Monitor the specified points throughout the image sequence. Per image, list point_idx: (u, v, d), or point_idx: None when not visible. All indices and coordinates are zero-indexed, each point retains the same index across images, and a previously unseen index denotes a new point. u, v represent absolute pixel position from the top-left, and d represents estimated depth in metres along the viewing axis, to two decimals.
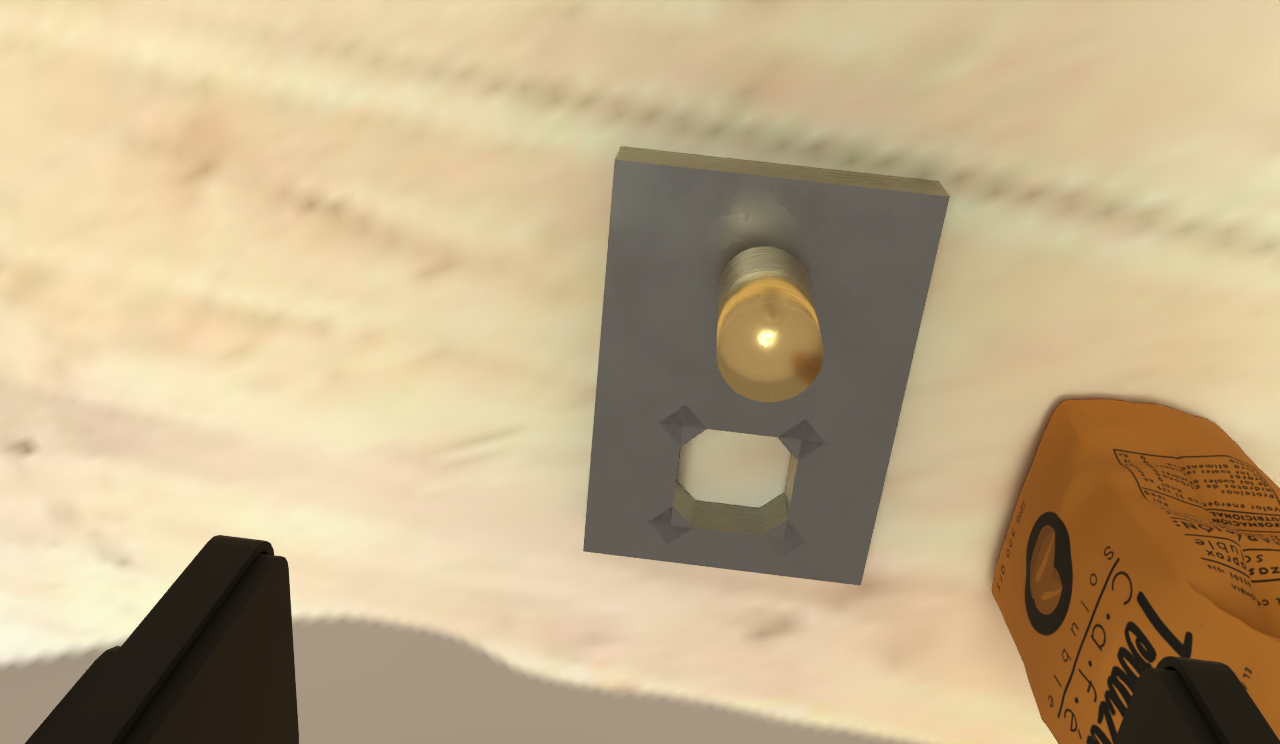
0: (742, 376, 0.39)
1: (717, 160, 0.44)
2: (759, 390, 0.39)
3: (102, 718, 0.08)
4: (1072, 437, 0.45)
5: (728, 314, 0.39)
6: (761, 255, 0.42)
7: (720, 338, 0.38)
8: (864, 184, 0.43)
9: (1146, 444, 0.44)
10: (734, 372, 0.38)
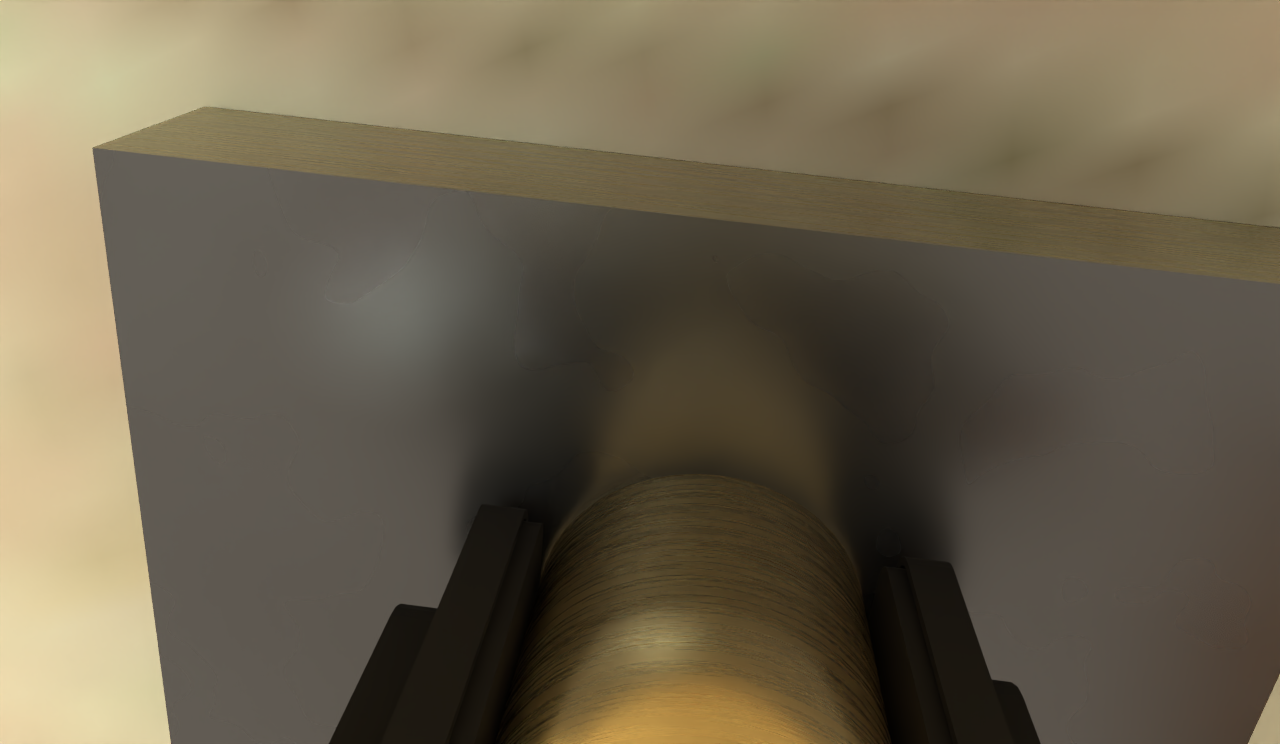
0: None
1: (530, 155, 0.12)
2: None
3: (451, 658, 0.09)
4: None
5: None
6: (677, 533, 0.11)
7: None
8: (1086, 249, 0.11)
9: None
10: None
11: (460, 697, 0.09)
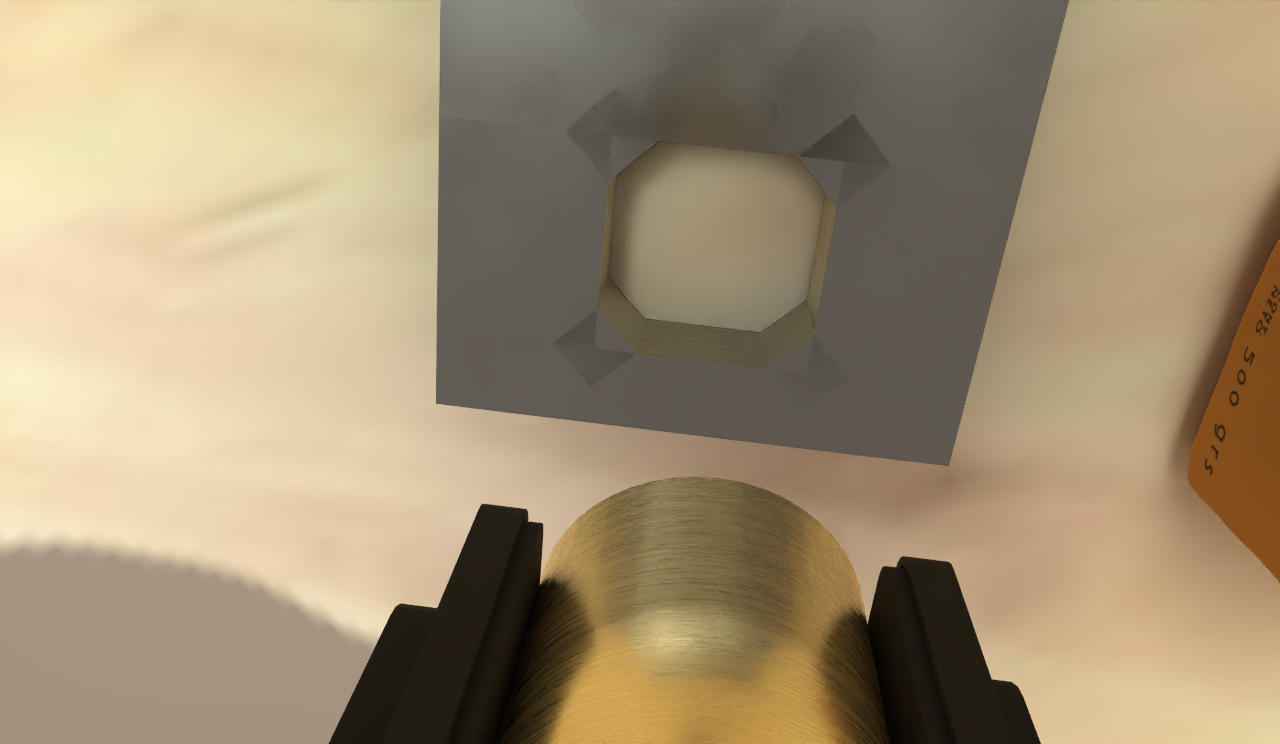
0: None
1: None
2: None
3: (451, 658, 0.09)
4: None
5: None
6: (676, 536, 0.11)
7: None
8: None
9: None
10: None
11: (460, 697, 0.09)
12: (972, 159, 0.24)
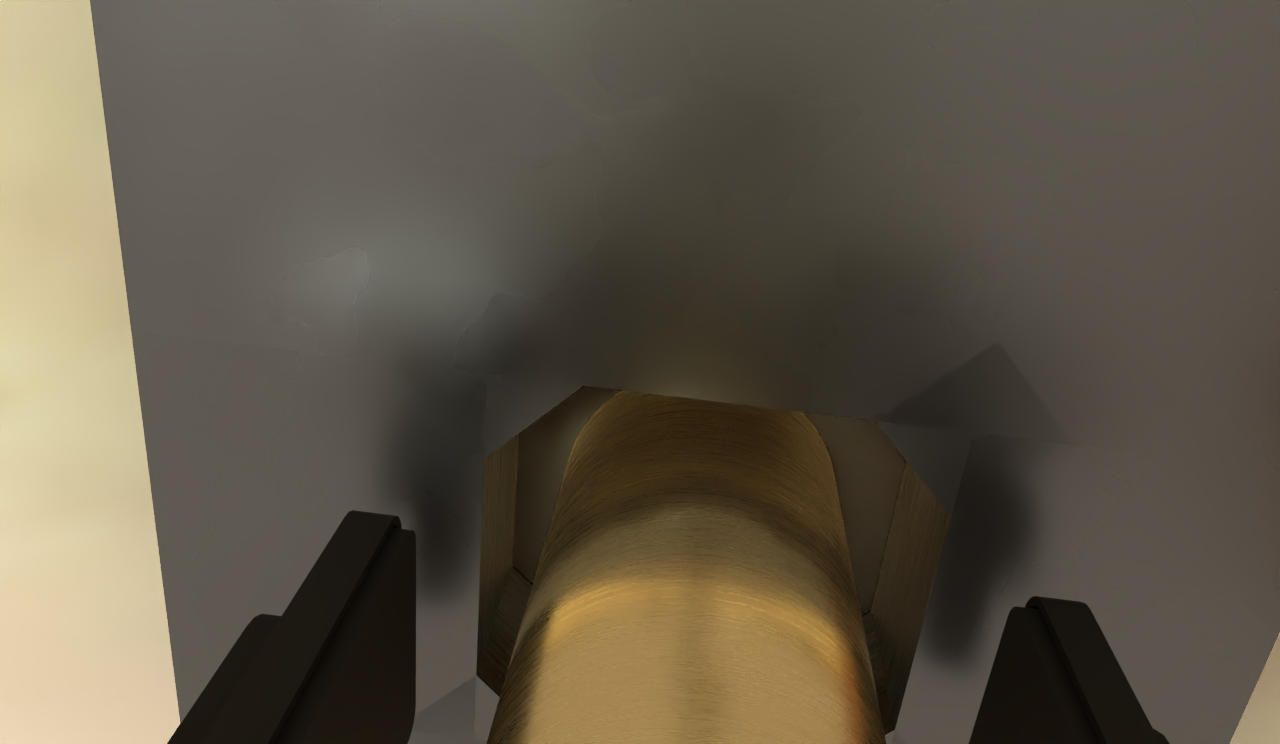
0: None
1: None
2: None
3: (282, 672, 0.09)
4: None
5: (510, 716, 0.09)
6: (682, 409, 0.13)
7: None
8: None
9: None
10: None
11: (284, 714, 0.08)
12: (1247, 433, 0.11)
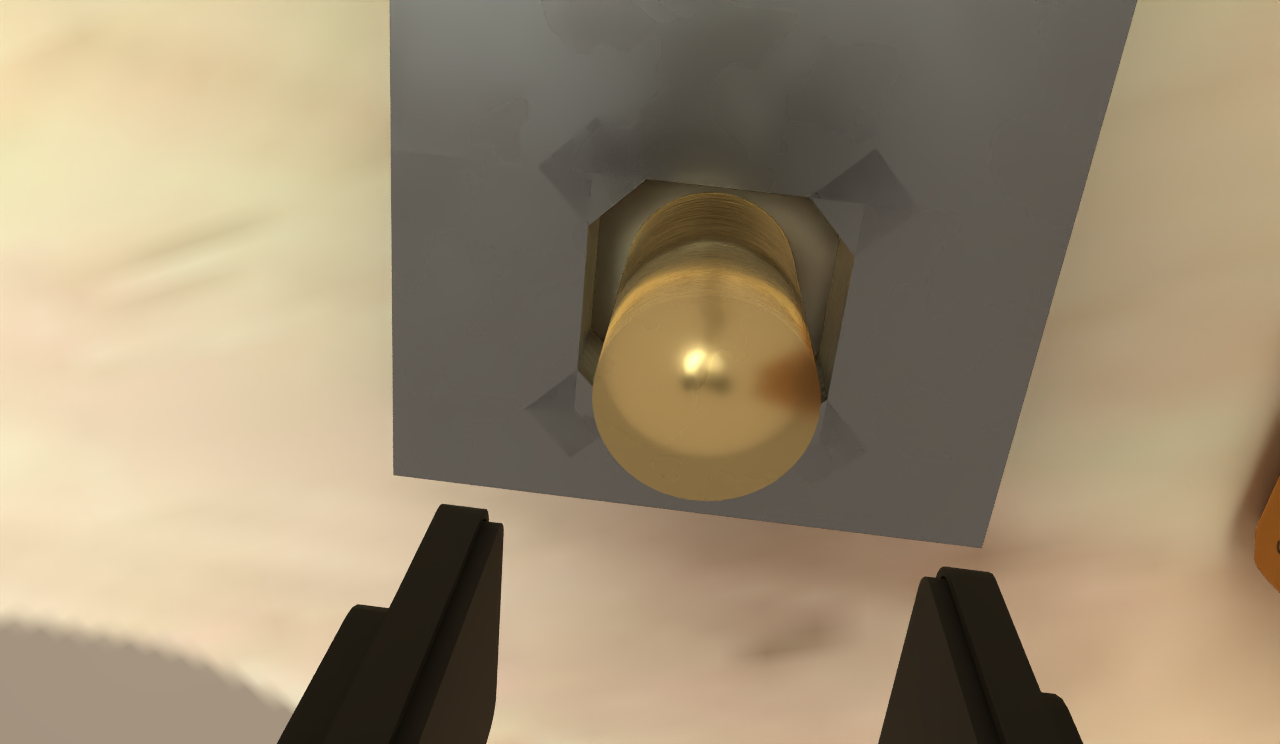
0: (647, 448, 0.18)
1: None
2: (685, 477, 0.18)
3: (399, 659, 0.09)
4: None
5: (619, 316, 0.18)
6: (701, 206, 0.22)
7: (599, 367, 0.18)
8: None
9: None
10: (631, 439, 0.18)
11: (406, 699, 0.09)
12: (1015, 201, 0.20)
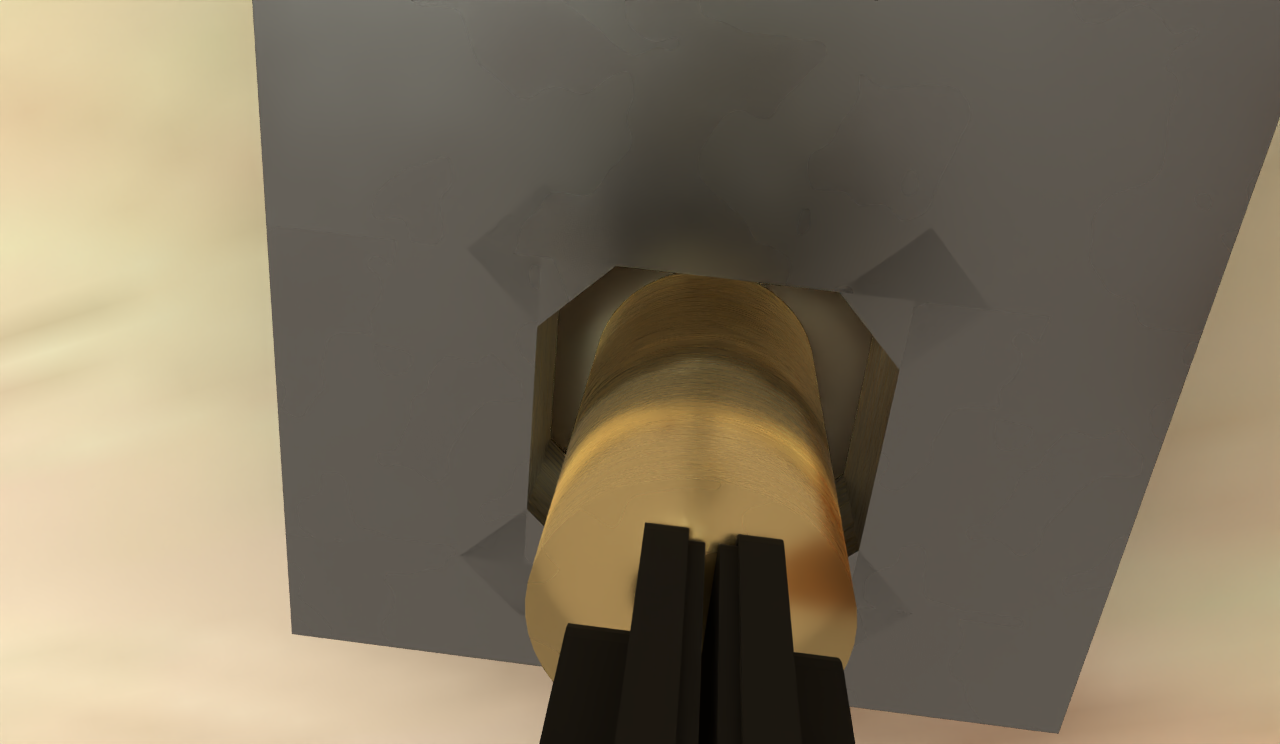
0: None
1: None
2: None
3: (656, 681, 0.09)
4: None
5: (567, 487, 0.13)
6: (690, 296, 0.17)
7: (534, 571, 0.12)
8: None
9: None
10: None
11: (674, 722, 0.09)
12: (1122, 299, 0.15)
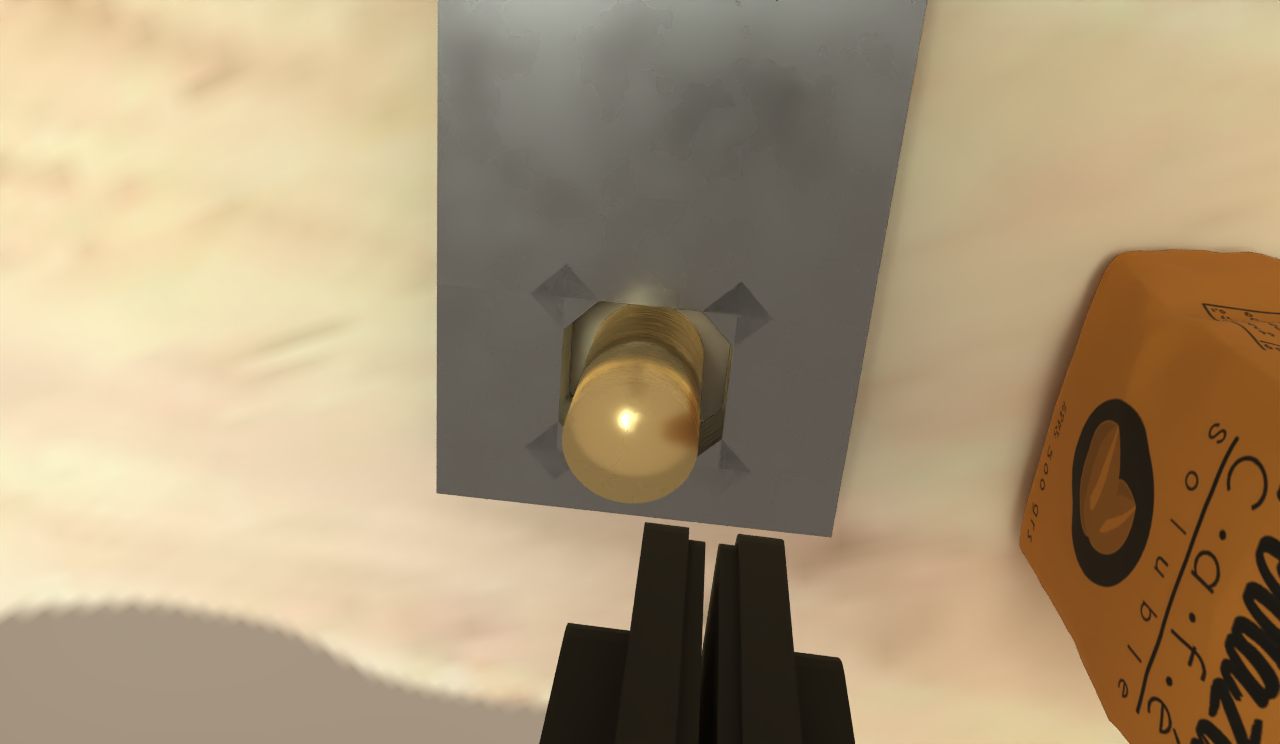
0: (596, 471, 0.30)
1: None
2: (619, 489, 0.30)
3: (656, 681, 0.09)
4: (1137, 293, 0.30)
5: (578, 391, 0.30)
6: (637, 314, 0.34)
7: (565, 422, 0.29)
8: None
9: (1250, 298, 0.29)
10: (586, 465, 0.30)
11: (674, 722, 0.09)
12: (831, 313, 0.32)
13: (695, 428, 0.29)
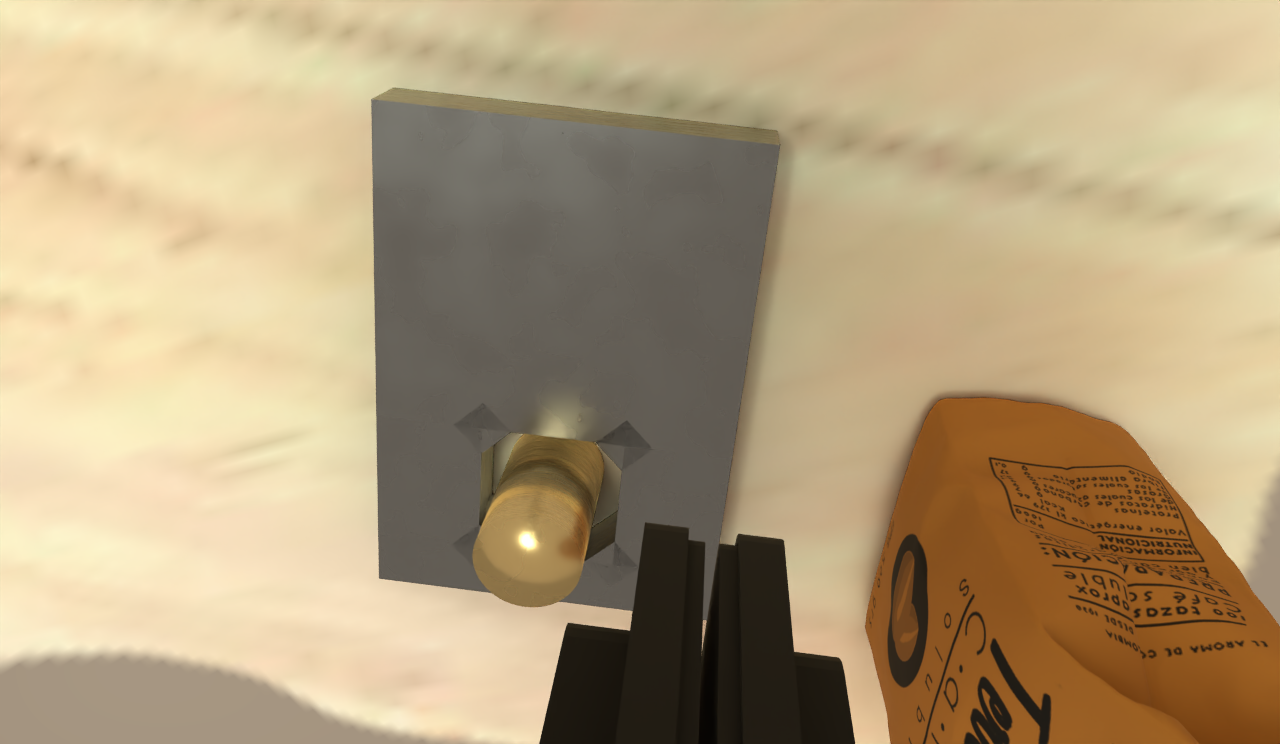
0: (500, 582, 0.37)
1: (507, 103, 0.36)
2: (519, 596, 0.37)
3: (656, 681, 0.09)
4: (942, 443, 0.37)
5: (487, 516, 0.37)
6: (545, 437, 0.41)
7: (475, 544, 0.36)
8: (678, 131, 0.35)
9: (1030, 452, 0.36)
10: (492, 577, 0.37)
11: (674, 722, 0.09)
12: (700, 446, 0.39)
13: (579, 551, 0.36)
